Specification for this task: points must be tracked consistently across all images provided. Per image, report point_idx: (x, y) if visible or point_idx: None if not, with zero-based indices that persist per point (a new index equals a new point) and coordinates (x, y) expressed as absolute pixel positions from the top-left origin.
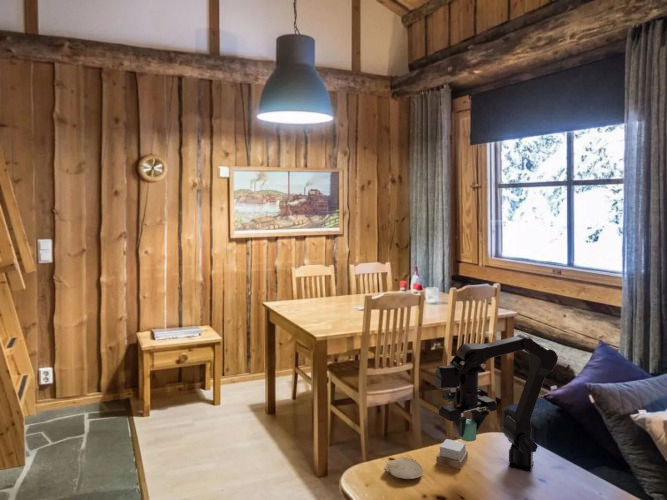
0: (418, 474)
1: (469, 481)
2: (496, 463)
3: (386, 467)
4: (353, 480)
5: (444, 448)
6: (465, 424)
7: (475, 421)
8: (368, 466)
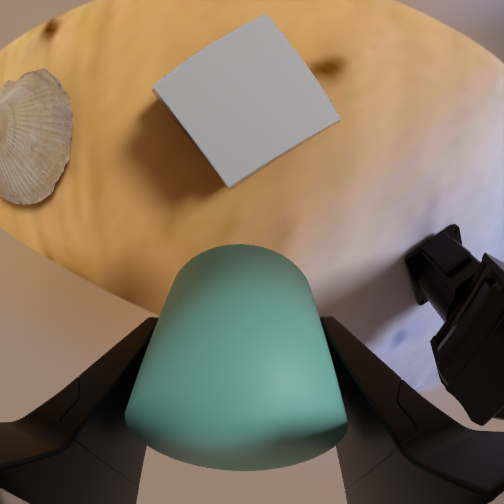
0: (44, 186)
1: None
2: (393, 216)
3: None
4: None
5: (170, 108)
6: (170, 448)
7: (351, 431)
8: None
